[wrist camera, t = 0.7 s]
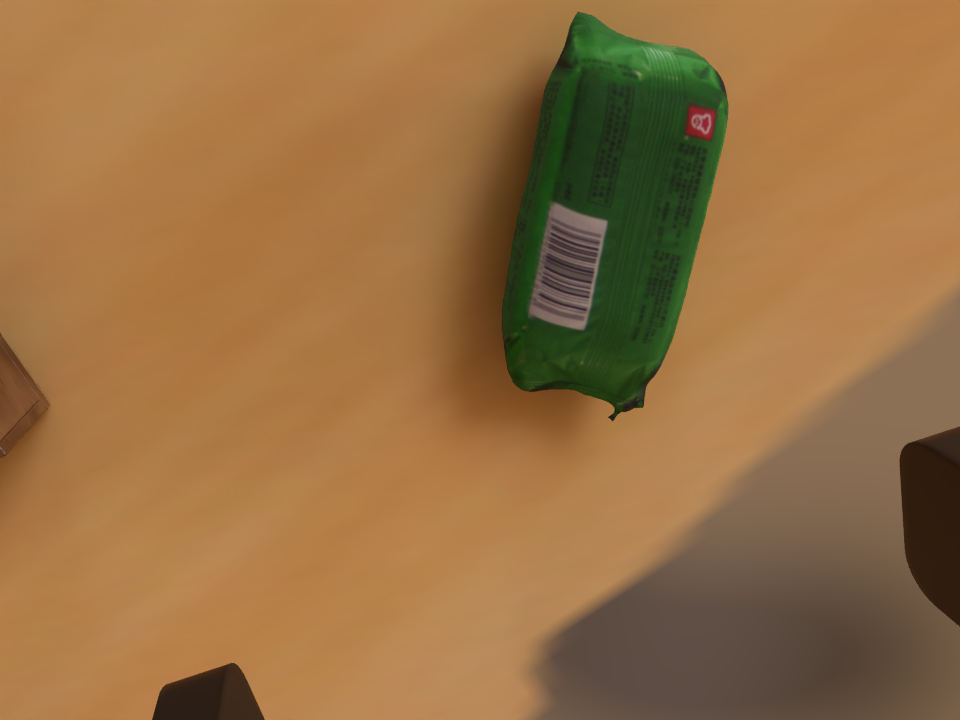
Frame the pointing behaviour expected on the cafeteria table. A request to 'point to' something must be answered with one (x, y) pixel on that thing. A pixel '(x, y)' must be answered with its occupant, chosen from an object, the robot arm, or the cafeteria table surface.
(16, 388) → the brown wooden tray
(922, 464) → the robot arm
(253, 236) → the cafeteria table surface
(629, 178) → the snack package
